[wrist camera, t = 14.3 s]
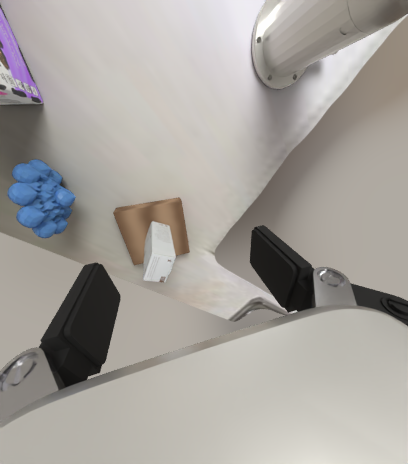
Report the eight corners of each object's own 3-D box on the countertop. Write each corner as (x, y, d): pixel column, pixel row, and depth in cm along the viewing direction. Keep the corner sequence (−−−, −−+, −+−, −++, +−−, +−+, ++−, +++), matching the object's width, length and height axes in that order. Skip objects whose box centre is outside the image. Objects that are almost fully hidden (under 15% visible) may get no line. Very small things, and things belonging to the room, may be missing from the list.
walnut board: (179, 197, 38) (181, 201, 35) (187, 246, 45) (189, 252, 42) (116, 207, 35) (113, 212, 32) (135, 257, 42) (134, 265, 39)
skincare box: (151, 220, 35) (149, 251, 25) (170, 225, 37) (177, 256, 27) (144, 243, 37) (140, 281, 27) (163, 247, 39) (166, 283, 29)
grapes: (98, 215, 35) (75, 245, 25) (61, 219, 33) (21, 252, 23) (76, 156, 29) (34, 163, 19) (31, 157, 28) (-40, 166, 17)
